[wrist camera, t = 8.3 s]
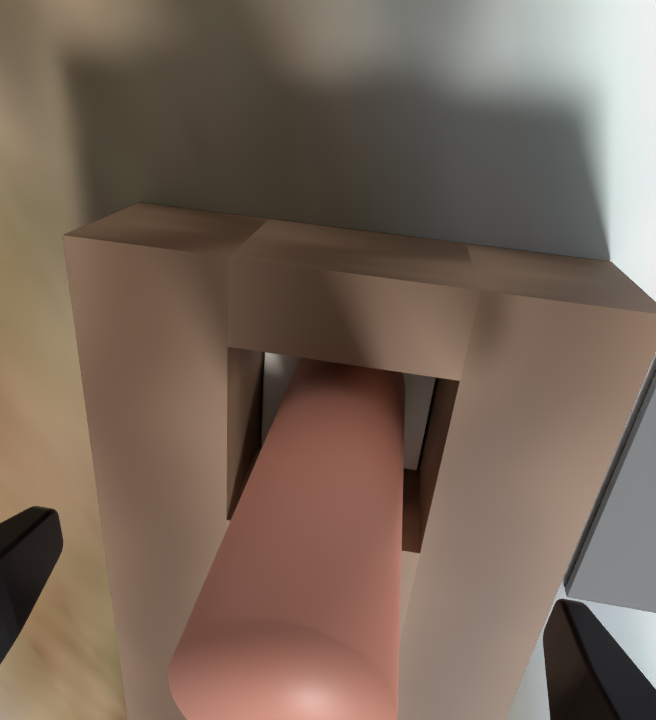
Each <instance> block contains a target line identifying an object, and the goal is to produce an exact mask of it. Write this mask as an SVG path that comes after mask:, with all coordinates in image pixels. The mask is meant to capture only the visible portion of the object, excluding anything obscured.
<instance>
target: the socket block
mask: <svg viewBox="0 0 656 720" xmlns="http://www.w3.org/2000/svg"><path fill="white" fill-rule="evenodd" d="M63 243H64V250H65V258H66V265H67V272H68V280H69V287H70V295H71V302H72V309H73V317H74V324H75V332H76V339H77V347H78V354H79V361H80V369H81V376H82V384H83V391H84V398H85V406H86V413H87V421H88V428H89V435H90V443H91V450H92V458H93V465H94V473H95V480H96V487H97V495H98V502H99V510H100V517H101V524H102V532H103V539H104V547H105V554H106V561H107V569H108V576H109V584H110V591H111V599H112V606H113V613H114V621H115V628H116V636H117V643H118V650H119V658H120V665H121V673H122V680H123V687H124V695H125V702H126V710H127V717H128V720H187V719H186V718H185V717H184V715H183V714H182V712H181V711H180V710H179V708H178V707H177V705H176V703H175V701H174V699H173V697H172V694H171V691H170V687H169V681H168V670H169V666H170V662H171V659H172V657H173V654H174V652H175V650H176V647H177V645H178V643H179V640H180V638H181V636H182V633H183V631H184V629H185V626H186V624H187V622H188V619H189V617H190V615H191V612H192V610H193V608H194V605H195V603H196V601H197V598H198V596H199V594H200V591H201V589H202V587H203V584H204V582H205V580H206V577H207V575H208V573H209V570H210V568H211V566H212V563H213V561H214V559H215V556H216V554H217V552H218V549H219V547H220V544H221V542H222V540H223V537H224V535H225V533H226V530H227V528H228V526H229V523H230V521H231V519H232V516H233V514H234V512H235V509H236V507H237V505H238V502H239V500H240V498H241V495H242V493H243V491H244V488H245V486H246V484H247V481H248V479H249V477H250V474H251V472H252V470H253V467H254V465H255V463H256V460H257V458H258V456H259V453H260V451H261V449H262V446H263V444H264V442H265V439H266V437H267V435H268V432H269V430H270V428H271V425H272V423H273V421H274V418H275V416H276V414H277V411H278V409H279V407H280V404H281V402H282V400H283V397H284V395H285V393H286V390H287V388H288V386H289V383H290V381H291V379H292V376H293V374H294V372H295V369H296V367H297V365H298V363H299V361H300V360H301V358H308V359H314V360H321V361H328V362H335V363H342V364H349V365H355V366H362V367H369V368H376V369H383V370H389V371H396V372H402V374H403V377H404V382H405V424H404V466H403V509H402V551H401V594H400V636H399V679H398V716H397V720H505V718H506V716H507V713H508V711H509V709H510V706H511V704H512V701H513V699H514V696H515V694H516V692H517V689H518V687H519V684H520V682H521V679H522V677H523V674H524V672H525V670H526V667H527V665H528V662H529V660H530V657H531V655H532V652H533V650H534V648H535V645H536V643H537V640H538V638H539V635H540V633H541V631H542V628H543V626H544V623H545V621H546V618H547V616H548V613H549V611H550V609H551V606H552V604H553V601H554V599H555V596H556V594H557V591H558V589H559V587H560V584H561V582H562V579H563V577H564V574H565V572H566V570H567V567H568V565H569V562H570V560H571V557H572V555H573V552H574V550H575V548H576V545H577V543H578V540H579V538H580V535H581V533H582V530H583V528H584V526H585V523H586V521H587V518H588V516H589V513H590V511H591V509H592V506H593V504H594V501H595V499H596V496H597V494H598V491H599V489H600V487H601V484H602V482H603V479H604V477H605V474H606V472H607V469H608V467H609V465H610V462H611V460H612V457H613V455H614V452H615V450H616V448H617V445H618V443H619V440H620V438H621V435H622V433H623V430H624V428H625V426H626V423H627V421H628V418H629V416H630V413H631V411H632V408H633V406H634V404H635V401H636V399H637V396H638V394H639V391H640V389H641V386H642V384H643V382H644V379H645V377H646V374H647V372H648V369H649V367H650V365H651V362H652V360H653V357H654V355H655V352H656V302H655V301H654V300H653V299H652V298H651V297H649V296H648V295H647V294H646V293H645V292H644V291H643V290H642V289H641V288H640V287H638V286H637V285H636V284H635V283H634V282H633V281H632V280H631V279H630V278H629V277H627V276H626V275H625V274H624V273H623V272H622V271H621V270H620V269H619V268H618V267H616V266H615V265H614V264H613V263H612V262H609V261H601V260H593V259H585V258H577V257H569V256H561V255H553V254H545V253H537V252H529V251H521V250H513V249H505V248H497V247H489V246H481V245H473V244H465V243H457V242H449V241H441V240H433V239H426V238H418V237H410V236H402V235H394V234H386V233H378V232H370V231H362V230H354V229H346V228H338V227H330V226H322V225H314V224H306V223H298V222H290V221H282V220H274V219H266V218H258V217H250V216H242V215H234V214H226V213H218V212H210V211H202V210H194V209H186V208H178V207H170V206H162V205H154V204H147V203H137V204H134V205H132V206H130V207H127V208H125V209H123V210H120V211H118V212H116V213H113V214H111V215H109V216H106V217H104V218H101V219H99V220H97V221H94V222H92V223H90V224H87V225H85V226H83V227H80V228H78V229H76V230H73V231H71V232H69V233H66V234H64V235H63ZM264 352H265V368H264V392H263V367H264ZM436 377H437V378H438V380H437V385H436V390H435V394H434V399H433V404H432V409H431V414H430V418H429V423H428V428H427V433H426V437H425V442H424V447H423V452H422V456H421V461H420V466H419V467H417V466H418V461H419V456H420V451H421V446H422V441H423V437H424V432H425V427H426V422H427V417H428V413H429V408H430V403H431V398H432V393H433V388H434V384H435V379H436ZM262 392H263V416H262ZM261 417H262V441H261ZM260 441H261V442H260Z"/></svg>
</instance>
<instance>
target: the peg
mask: <svg viewBox="0 0 656 720" xmlns="http://www.w3.org/2000/svg"><path fill="white" fill-rule="evenodd" d="M404 424H405V382H404V377H403V374H402V372H396V371H389V370H383V369H376V368H369V367H362V366H355V365H349V364H342V363H335V362H328V361H321V360H314V359H308V358H301V360H300V361H299V363H298V365H297V367H296V369H295V372H294V374H293V376H292V379H291V381H290V383H289V386H288V388H287V390H286V393H285V395H284V397H283V400H282V402H281V404H280V407H279V409H278V411H277V414H276V416H275V418H274V421H273V423H272V425H271V428H270V430H269V432H268V435H267V437H266V439H265V442H264V444H263V446H262V449H261V451H260V453H259V456H258V458H257V460H256V463H255V465H254V467H253V470H252V472H251V474H250V477H249V479H248V481H247V484H246V486H245V488H244V491H243V493H242V495H241V498H240V500H239V502H238V505H237V507H236V509H235V512H234V514H233V516H232V519H231V521H230V523H229V526H228V528H227V530H226V533H225V535H224V537H223V540H222V542H221V544H220V547H219V549H218V552H217V554H216V556H215V559H214V561H213V563H212V566H211V568H210V570H209V573H208V575H207V577H206V580H205V582H204V584H203V587H202V589H201V591H200V594H199V596H198V598H197V601H196V603H195V605H194V608H193V610H192V612H191V615H190V617H189V619H188V622H187V624H186V626H185V629H184V631H183V633H182V636H181V638H180V640H179V643H178V645H177V647H176V650H175V652H174V654H173V657H172V659H171V662H170V666H169V670H168V681H169V687H170V691H171V694H172V697H173V699H174V701H175V703H176V705H177V707H178V708H179V710H180V711H181V712H182V714H183V715H184V717H185V718H186V719H187V720H397V716H398V679H399V636H400V594H401V551H402V509H403V466H404Z"/></svg>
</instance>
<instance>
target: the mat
mask: <svg viewBox="0 0 656 720" xmlns="http://www.w3.org/2000/svg"><path fill="white" fill-rule="evenodd" d="M565 592H566V595H567V597H570V598H575V599H581V600H587V601H592V602H598V603H604V604H609V605H615V606H620V607H626V608H632V609H637V610H643V611H649V612H654V613H656V372H655V375H654V377H653V380H652V382H651V384H650V387H649V389H648V392H647V394H646V396H645V399H644V401H643V404H642V406H641V408H640V411H639V413H638V416H637V418H636V420H635V423H634V425H633V428H632V430H631V432H630V435H629V437H628V440H627V442H626V444H625V447H624V449H623V451H622V454H621V456H620V459H619V461H618V463H617V466H616V468H615V471H614V473H613V475H612V478H611V480H610V483H609V485H608V487H607V490H606V492H605V495H604V497H603V499H602V502H601V504H600V507H599V509H598V511H597V514H596V516H595V519H594V521H593V523H592V526H591V528H590V530H589V533H588V535H587V538H586V540H585V542H584V545H583V547H582V550H581V552H580V554H579V557H578V559H577V562H576V564H575V566H574V569H573V571H572V574H571V576H570V578H569V581H568V583H567V586H566V588H565Z"/></svg>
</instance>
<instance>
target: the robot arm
mask: <svg viewBox="0 0 656 720" xmlns="http://www.w3.org/2000/svg"><path fill="white" fill-rule="evenodd" d="M62 548H63V537H62V531H61V526H60V520H59V515H58V513H57V511H56V510H54V509H51V508H46V507H40V506H33V507H30V508H28V509H26V510H24V511H22V512H21V513H19V514H17V515H15V516H13V517H11V518H9V519H7V520H5V521H4V522H2V523H0V664H1V662H2V661H3V659H4V658H5V656H6V655H7V653H8V651H9V650H10V648H11V647H12V645H13V644H14V642H15V640H16V639H17V637H18V635H19V634H20V632H21V630H22V628H23V626H24V625H25V623H26V621H27V619H28V617H29V615H30V613H31V611H32V609H33V607H34V605H35V603H36V601H37V600H38V598H39V596H40V594H41V592H42V590H43V588H44V586H45V584H46V582H47V580H48V578H49V576H50V574H51V572H52V570H53V568H54V566H55V564H56V562H57V561H58V559H59V557H60V554H61V552H62ZM543 647H544V657H545V668H546V678H547V689H548V699H549V709H550V720H656V689H655V688H654V687H653V686H652V684H651V683H650V682H649V681H648V680H647V678H646V677H645V676H644V675H643V673H642V672H641V671H640V670H639V669H638V667H637V666H636V665H635V664H634V663H633V661H632V660H631V659H630V658H629V657H628V655H627V654H626V653H625V652H624V650H623V649H622V648H621V647H620V646H619V644H618V643H617V642H616V641H615V640H614V638H613V637H612V636H611V635H610V633H609V632H608V631H607V630H606V629H605V627H604V626H603V625H602V624H601V623H600V621H599V620H598V619H597V618H596V617H595V615H594V614H593V613H592V612H591V610H590V609H589V608H588V607H587V606H586V605H585V604H584V603H582V602H578V601H572V600H567V599H559V600H557V601H556V603H555V605H554V607H553V610H552V612H551V615H550V617H549V619H548V622H547V624H546V627H545V630H544V635H543Z"/></svg>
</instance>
